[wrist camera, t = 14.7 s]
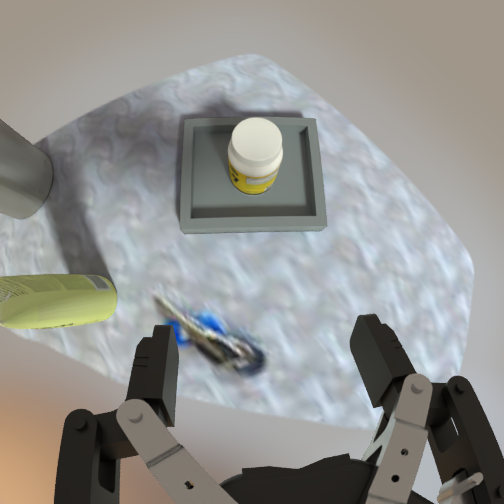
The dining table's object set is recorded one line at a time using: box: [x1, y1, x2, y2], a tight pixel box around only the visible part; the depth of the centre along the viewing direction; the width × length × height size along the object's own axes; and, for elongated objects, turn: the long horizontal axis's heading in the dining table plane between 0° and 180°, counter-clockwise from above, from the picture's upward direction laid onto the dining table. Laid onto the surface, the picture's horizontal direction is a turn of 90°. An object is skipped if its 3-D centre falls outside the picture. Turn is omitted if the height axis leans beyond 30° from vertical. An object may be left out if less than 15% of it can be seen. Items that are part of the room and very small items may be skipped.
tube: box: [0, 274, 117, 329], centre depth 20 cm, size 6×5×20 cm
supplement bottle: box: [228, 117, 283, 196], centre depth 27 cm, size 5×5×8 cm
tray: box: [180, 117, 327, 234], centre depth 30 cm, size 14×12×2 cm
